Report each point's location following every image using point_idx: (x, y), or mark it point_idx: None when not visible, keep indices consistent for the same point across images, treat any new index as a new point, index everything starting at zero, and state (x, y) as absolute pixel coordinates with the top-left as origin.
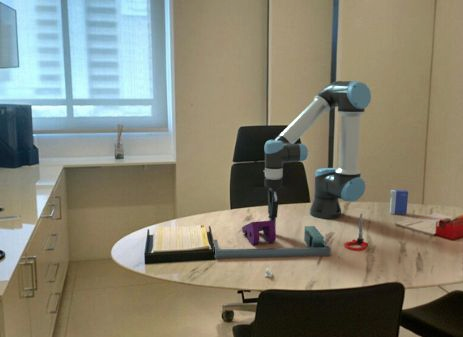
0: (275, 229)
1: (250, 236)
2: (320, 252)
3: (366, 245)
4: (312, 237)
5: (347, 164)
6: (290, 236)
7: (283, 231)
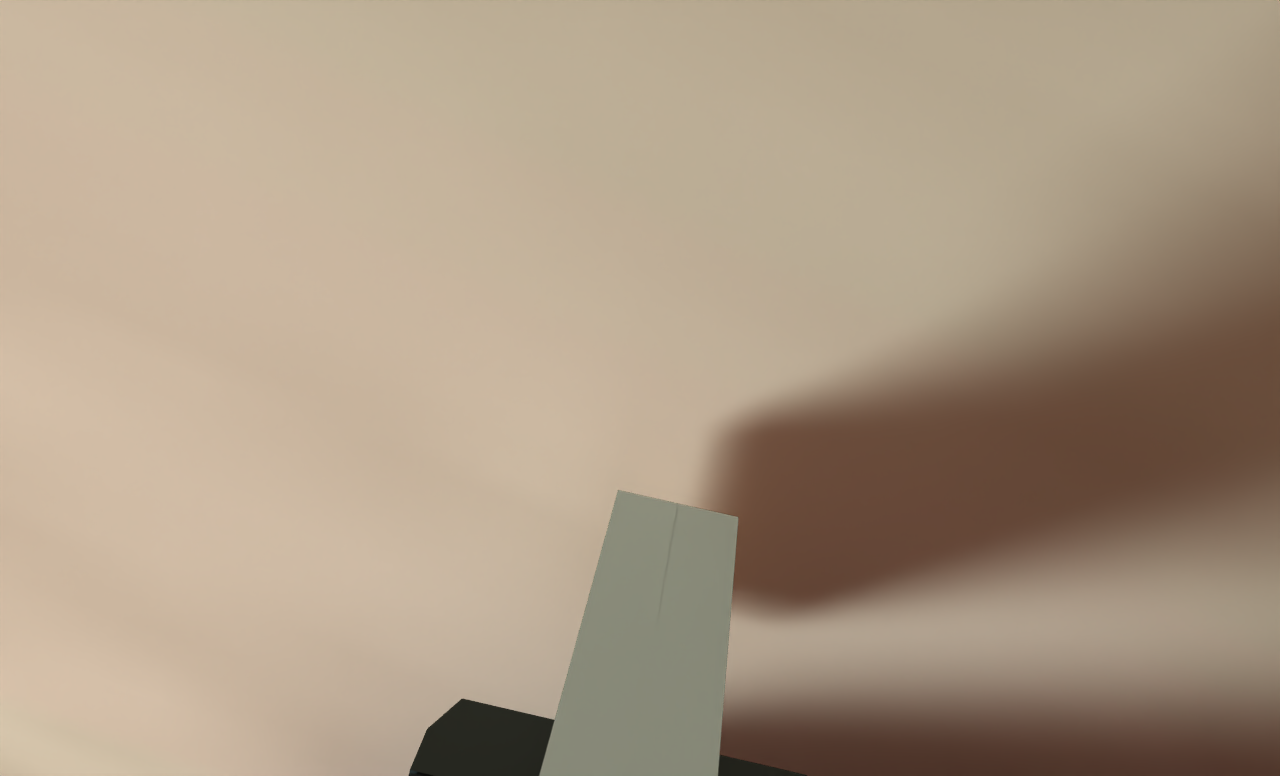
0: (729, 573)
1: None
2: None
3: None
4: None
5: None
6: (1120, 59)
7: (481, 70)
